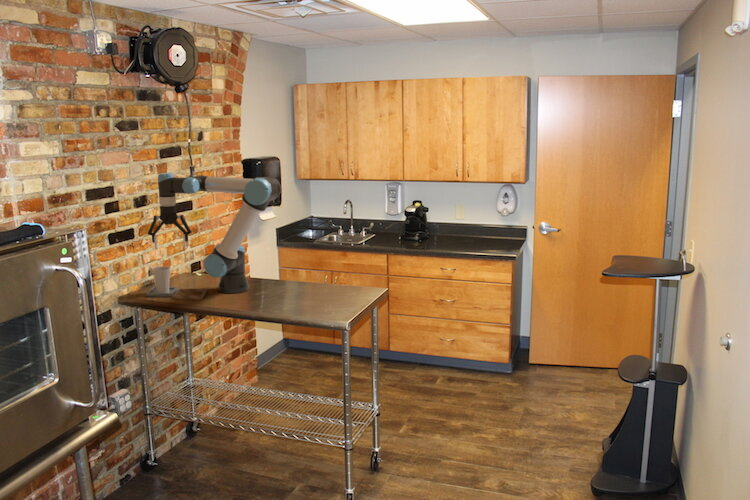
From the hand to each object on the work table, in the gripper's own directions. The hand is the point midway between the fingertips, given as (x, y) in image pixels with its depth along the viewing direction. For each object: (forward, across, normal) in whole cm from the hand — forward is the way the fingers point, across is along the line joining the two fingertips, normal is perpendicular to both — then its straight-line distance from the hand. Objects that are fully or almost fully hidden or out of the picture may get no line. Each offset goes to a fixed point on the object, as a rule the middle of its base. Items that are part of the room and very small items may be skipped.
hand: (170, 248), depth 300 cm
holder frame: (+22, -9, +7) cm, 25 cm away
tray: (+22, +5, +4) cm, 23 cm away
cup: (+21, +4, +4) cm, 22 cm away
